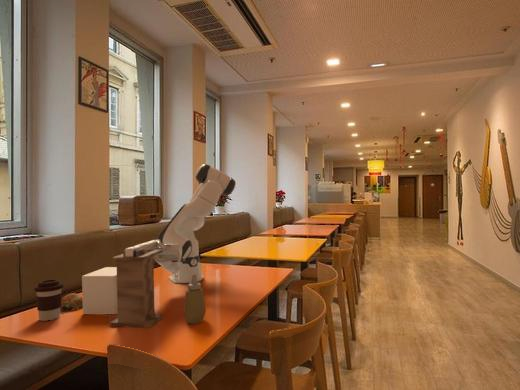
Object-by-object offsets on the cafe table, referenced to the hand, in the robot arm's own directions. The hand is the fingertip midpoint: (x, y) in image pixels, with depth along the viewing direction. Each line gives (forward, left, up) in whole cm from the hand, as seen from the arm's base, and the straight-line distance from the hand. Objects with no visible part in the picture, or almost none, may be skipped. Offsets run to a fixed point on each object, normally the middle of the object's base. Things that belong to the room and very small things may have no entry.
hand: (153, 243), depth 150 cm
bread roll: (-27, -27, -28) cm, 48 cm away
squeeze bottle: (+27, +5, -28) cm, 39 cm away
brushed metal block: (+6, -6, -2) cm, 9 cm away
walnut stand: (+10, -10, -28) cm, 31 cm away
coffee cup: (-17, -37, -28) cm, 49 cm away
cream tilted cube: (-14, -14, -28) cm, 34 cm away
